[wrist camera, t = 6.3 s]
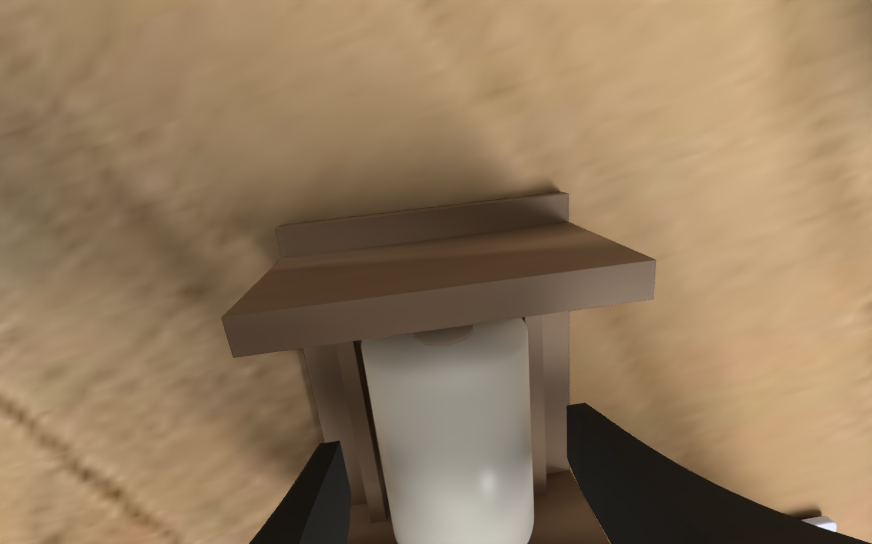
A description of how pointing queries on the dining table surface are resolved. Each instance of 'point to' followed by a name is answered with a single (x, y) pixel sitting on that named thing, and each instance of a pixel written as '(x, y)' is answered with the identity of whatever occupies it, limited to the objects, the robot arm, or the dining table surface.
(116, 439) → the dining table surface
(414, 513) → the roll
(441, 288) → the holder
